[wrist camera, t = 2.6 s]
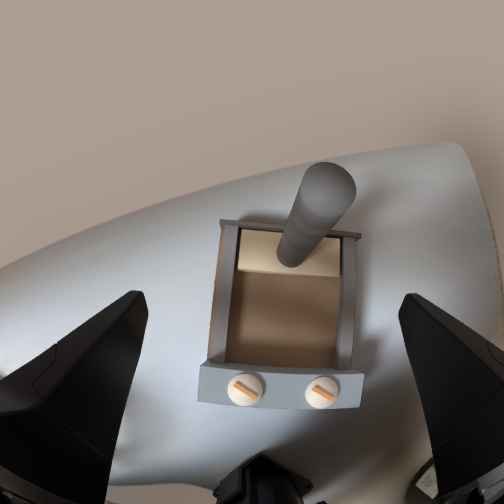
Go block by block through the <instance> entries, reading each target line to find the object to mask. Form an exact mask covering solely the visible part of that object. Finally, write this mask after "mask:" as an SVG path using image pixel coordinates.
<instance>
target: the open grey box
mask: <svg viewBox="0 0 504 504" xmlns="http://www.w3.org/2000/svg"><path fill="white" fill-rule="evenodd" d="M285 226H286V225H279V224H269V223H258V222H247V221H235V220H223V219H220V227H221V236H220V244H219V252H218V260H217V268H216V277H215V285H214V294H213V303H212V313H211V322H210V332H209V343H208V354H207V360H210V363H215V364H225V362H228V363H237V364H248V365H260V366H275V367H297V368H334V369H336V370H350V365H351V355H352V344H353V331H354V315H355V290H356V241H357V240H359V239H360V238H361V233H353V232H344V231H336V230H330V231H329V232H328V233H327V235H326V236H325V237H327V238H336V239H340V276H339V278H337V279H326V278H314V277H301V276H289V275H277V274H266V273H255V272H244V271H238V261H239V252H240V242H241V233H242V229H245V230H256V231H267V232H278V233H283V231H284V229H285Z"/></svg>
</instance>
